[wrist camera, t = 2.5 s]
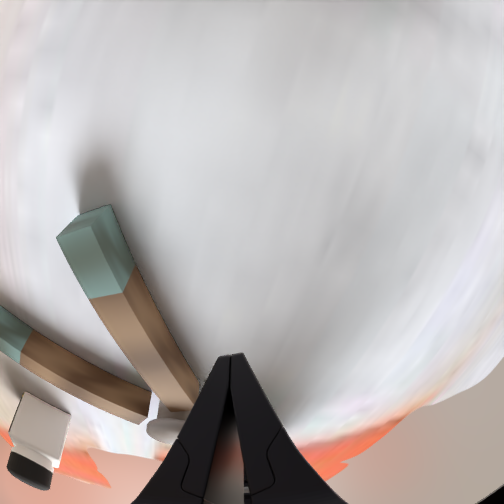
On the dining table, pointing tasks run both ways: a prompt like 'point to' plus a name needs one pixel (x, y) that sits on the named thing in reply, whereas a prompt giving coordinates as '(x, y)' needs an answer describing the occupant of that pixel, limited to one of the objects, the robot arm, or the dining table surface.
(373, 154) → the dining table surface
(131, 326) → the tong leg
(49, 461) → the medicine bottle
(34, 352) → the base
